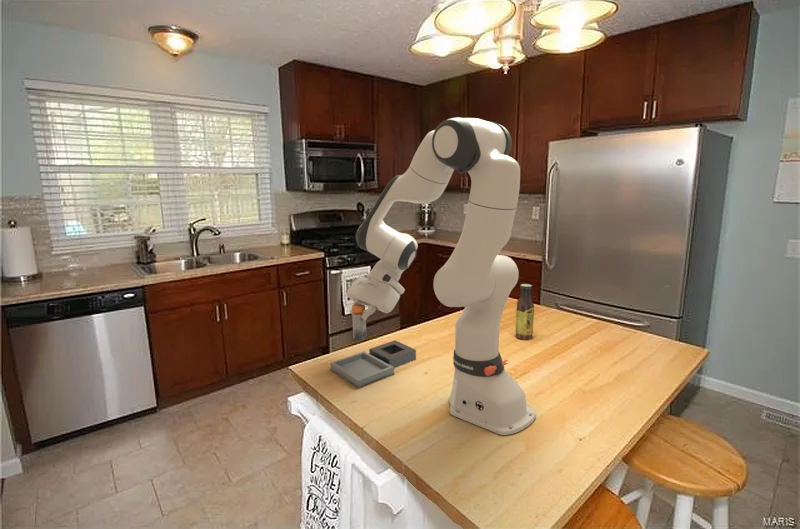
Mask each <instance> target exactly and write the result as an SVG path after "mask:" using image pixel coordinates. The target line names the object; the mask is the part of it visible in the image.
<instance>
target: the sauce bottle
mask: <svg viewBox="0 0 800 529" xmlns="http://www.w3.org/2000/svg"><path fill="white" fill-rule="evenodd" d="M519 286H520V288H519V289H520V295H519V298H518V300H517V302H516V310H515V329H514V330H515V337H516V338H518V339H520V340H531V339H532V338H533V334H534V320H535V319H534V317H535V305H534V302H533V300H532V299H533V298H532V289H533V285H532V284H528V283H522V284H520V285H519Z"/></svg>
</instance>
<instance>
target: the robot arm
mask: <svg viewBox="0 0 800 529" xmlns="http://www.w3.org/2000/svg"><path fill="white" fill-rule="evenodd" d="M512 142H513V141H512V136H511V134H510V132H509V131H508V129H507V128H506V127H505V126H503V125H501V124H499V123H498V122H494V121H487V120H484V119H481V118H476V117H451V118H448V119H445V120H443V121H442V122H440V123H439V124H438V125H437V126H436V128H435V129H433V130H431V131H429V132H428V133H427V134H426V135H425V136H424V138H423V139H422V141H421V143H420V144H419V146H418V148H417V150H416V151H415V153H414V155H413V157H412V160H411V162H410V165H409V167H408V168H407V170H406V171H405V172H404V173H403V174H397V175H395V176H394V177H393V178H392V179H390V181H389V182H388V183H387V184H386V186H385V187H384V189H383V190H382V192H381V193H380V195H379V196H378V197H377V200H376V201H375V203H374V204H373V206H372V207H371V209H370V211H369V212H368V215H367V216H366V218H364V221H363V222H362V223H361V224H360V225H359V227H358V229H357V230H356V233H355V239H356V242H357V246H358V247H359V248H360V249H362V250H363V251H366V252H368V253H370V254H371V255H374V256H376V257H377V258H379V261H377V262H376V263H375V265H374V266H373V268H371V270H370V272H369V273H368V274H364V275H362V276H360V277H358V278H357V279H356V280H355V281H354V282H353V283H352V285H351V286H350V287H349V288H348V290H347V291H346V296H347V297H348V298H350V299H351V300H352V301H353V303H352V306H353V305H356V304H363V305H365V306H366V307H367V309H365V312H362V313H361V315H360V318H361V319H363V320H366V321H367V319H368V318H369V316H371V315H373V314H374V313H375V312H376V310H377V311H380V312H382V313H385V314H389V313H390V312H393V310H394V308H395V307H396V305H397V303H398V302H399V300H400V298H401V296H402V295H403V294H404V293H405V291H406V289H405V288H404V287H403V285H402V284H400V282H399V280H400V279H401V276H402V274H403V273H404V272H405V271H406V270H407V269H409V268H410V267H411V265H412V264H413V262H414V260H415V259H416V257H417V254H418V253H417V250H418V247H419V245H418V242H417V240H416V239H415V238H414V237H413V236H412V235H410V234H408V233H406V232H405V233H404V232H399V231H398V230H396V229H394V228H393V227H391V226H389V225H388V224H386V223H385V221H384V219H385V217H386V216H387V214H388V212H389V211H390V209H391V207H392V206H393V205H394V203H395V202H406V203H412V204H419V205H420V204H421V205H422V204H423V205H424V204H429V203H432V202H435V201H437V200H438V199H439V198H440V197H441V196H442V195H443V193H444V192H445V190H446V188H447V186H448V184H449V182H450V180H451V178H452V176H453V173H454V172H455V171H456V172H457V173H459V174H462V175H463V174H466V173H468V175H469V177H470V180H471V183H470V184H471V186H470V193H469V195H468V202H467V208H466V213H465V216H464V223H463V226H462V231H461V234H460V237H459V239H458V242H457V243H456V246H455V248H454V249H453V252H452V253H451V255H450V256H449V258H448V259H447V261H446V262H445V263H444V265H442V266H441V267H440V268H439V269H438V270H437V272H436V273H435V275H434V278H433V291H434V294H435V296H436V298H437V299H438V301H439V302H440V303H441V304H442V305H444V306H446V307H449V308H462V307H464V309H463V310H462V312H461V314H460V315H459V316H458V317H457V320H456V322H455V325H454V328H455V329H454V332H455V334H454V342H455V343H454V344H455V346H454V347H455V348H454V350H453V357H452V360H453V362H452V363H453V367H454V373H453V381H452V388H451V391H450V395H449V398H448V402H449V405H450V408H449V414H450V415H451V416H453V417H455V418H459V419H460V420H463V421H465V422H468V423H471V424H473V425H475V426H477V427H480V428H483V429H484V430H485V429H486V430H488V431H490V432H493V433H495V434H498V435H501V436H507V435H513V434H516V433H518V432H521V431H522V430H525V429H526V428H527V427H528V426H530V425H532V423H533V422H535V419H536V416H537V413H536V410H535V409H534V408H532V407H531V406H530V405H528V404H527V399H526V393H525V391H524V389H522V387H521V386H520V385H519V384H518V382H517V381H516V380H514V378H513V377H512V376H511V375H510V374H509V372H507V370H506V369H505V366H506V365H507V364H509V363H508V359H505V360H503V358H502V356H501V352H500V351H499V346H500V345H499V344H500V329H501V328H500V327H501V322H502V317H503V314H504V311H505V307H506V304H507V301H508V299H509V296H510V294H511V292H512V290H513V289H514V288H515V287H516V285H517V283H518V281H519V274H520V273H519V269H518V266H517V264H516V262H515V261H514V260H513V259H512V258H511V257H509V256H507V255H505V254H504V255H503V254H499V253H500V252H501V250H502V249H503V248H504V247H505V246H506V245H507V244H508V242H509V240H510V238H511V235H512V230H513V225H514V221H515V216H516V211H517V206H518V202H519V196H520V188H521V187H520V185H521V166H520V165H519V163H518V161H517V160H516V159H514V158H513V157H511V156H509V155H510V152H511V151H512V150H511V149H512V146H513V145H512V144H513V143H512ZM349 313H350V314H351V315H352V308H351V309H350V311H349Z"/></svg>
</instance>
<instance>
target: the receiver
mask: <svg viewBox="0 0 800 529" xmlns="http://www.w3.org/2000/svg"><path fill="white" fill-rule="evenodd" d="M368 350H369V352H368V353H369V354H371V355H372V356H374V357H376V358H378V359H380V360H382V361H384V362H385V363H387V364H389V365H391V366H393V367H394V369H395V367H396V368H398V367H400V365H401V366H403V365H405V364H408V363H410V361H411V362H414V361H416V360H417V349H416V348H413V347H412V346H411V347H410V346H408V345H406V344H404V343H402V342H401V341H398V340H395V339H394V340H392V341H389V342H385V343H383V344H380V345H377V346H374V347H370V348H369V349H368ZM413 360H414V361H413Z"/></svg>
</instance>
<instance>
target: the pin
mask: <svg viewBox="0 0 800 529" xmlns="http://www.w3.org/2000/svg"><path fill="white" fill-rule="evenodd" d="M351 309H352V314H351V317H352V319H351V320H352V336H353V339H354V340H356V341H360V340H365V339H366V338H367V319H366V320H363V319H361V318H360V315H361V313H362V312H365V311H366V305H364V304H356V305H353V304H352V305H351Z"/></svg>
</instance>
